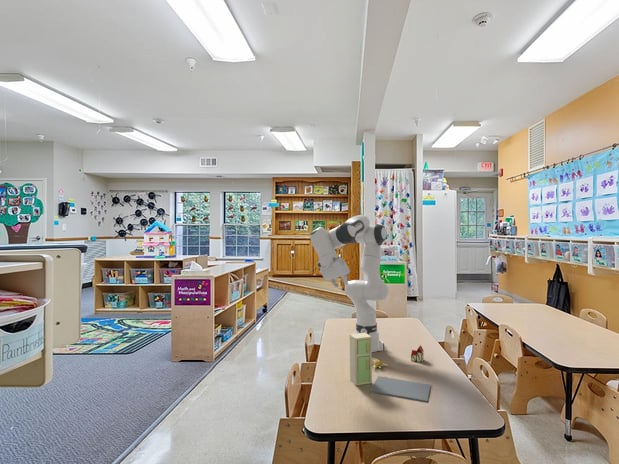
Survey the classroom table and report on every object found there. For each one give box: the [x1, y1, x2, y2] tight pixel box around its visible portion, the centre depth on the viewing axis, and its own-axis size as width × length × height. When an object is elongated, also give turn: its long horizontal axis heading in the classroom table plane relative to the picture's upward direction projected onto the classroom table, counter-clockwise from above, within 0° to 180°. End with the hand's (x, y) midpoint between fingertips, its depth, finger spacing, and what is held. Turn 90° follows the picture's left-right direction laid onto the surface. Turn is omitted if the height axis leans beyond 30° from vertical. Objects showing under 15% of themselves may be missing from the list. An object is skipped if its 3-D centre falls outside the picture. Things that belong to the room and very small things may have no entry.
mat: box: [369, 375, 432, 403], centre depth 151 cm, size 16×23×1 cm
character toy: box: [372, 358, 389, 369], centre depth 176 cm, size 8×3×8 cm
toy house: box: [410, 344, 425, 363], centre depth 185 cm, size 6×7×8 cm
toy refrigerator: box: [349, 333, 373, 386], centre depth 158 cm, size 8×7×21 cm
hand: (341, 286), depth 169 cm, fingers open, 8 cm apart
